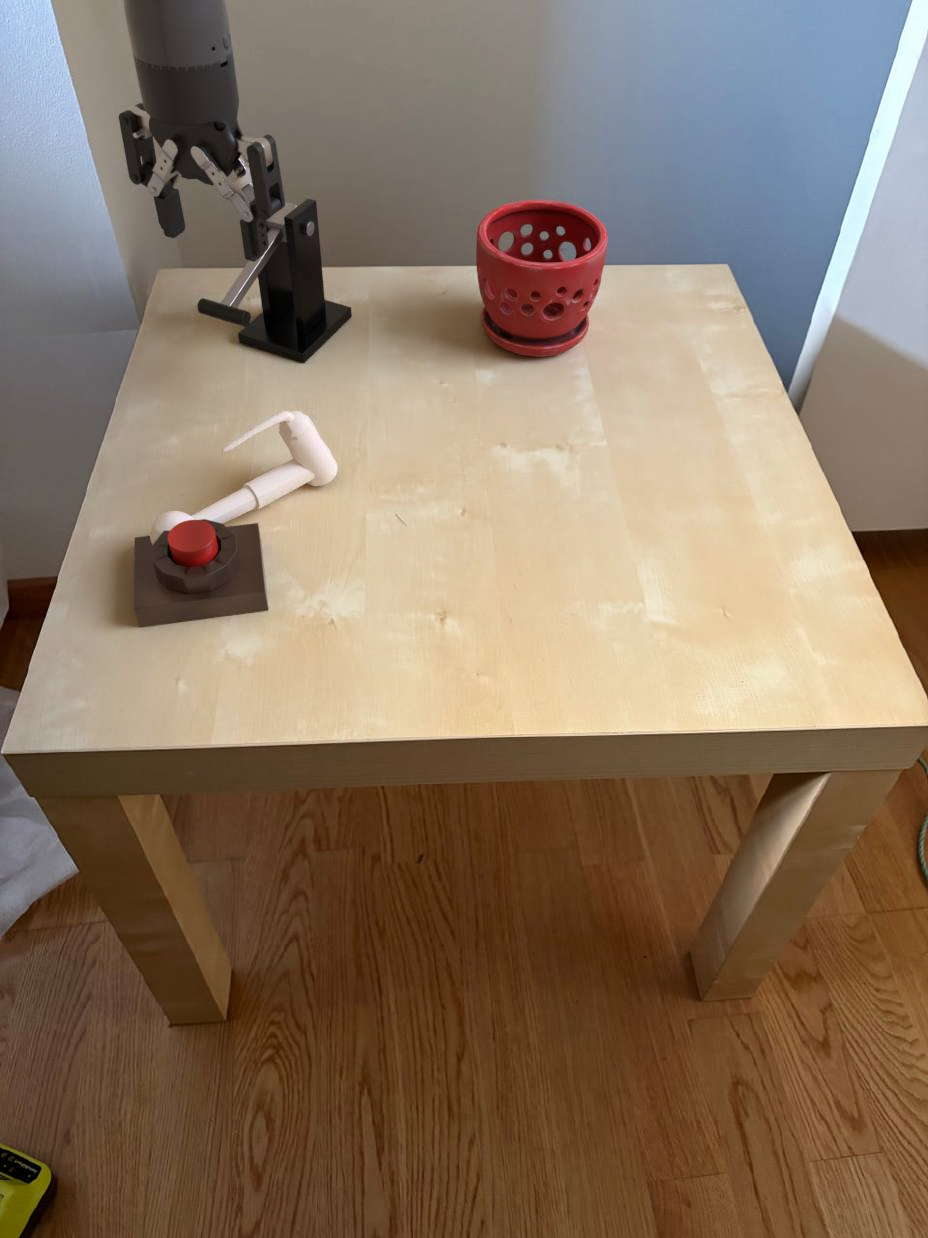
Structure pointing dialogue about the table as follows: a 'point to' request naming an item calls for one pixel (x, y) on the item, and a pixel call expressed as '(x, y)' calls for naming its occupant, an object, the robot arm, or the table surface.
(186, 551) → the button
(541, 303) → the flower pot
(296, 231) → the bracket
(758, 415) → the table surface
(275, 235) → the lever
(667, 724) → the table surface
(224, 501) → the faucet
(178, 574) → the button block
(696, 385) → the table surface
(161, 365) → the table surface
